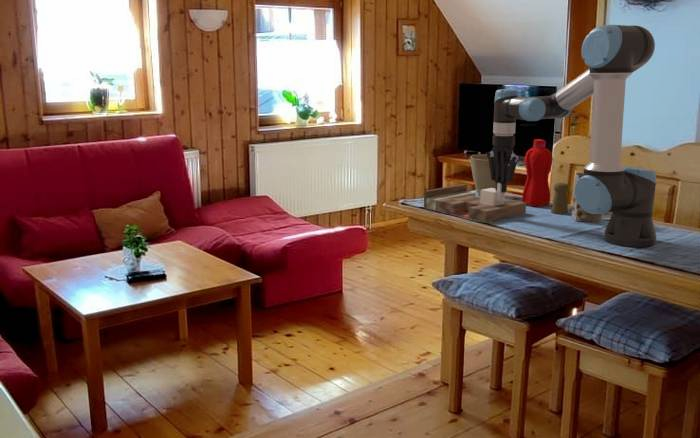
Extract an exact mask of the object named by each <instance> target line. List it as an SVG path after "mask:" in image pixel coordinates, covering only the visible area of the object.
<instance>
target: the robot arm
mask: <svg viewBox="0 0 700 438" xmlns="http://www.w3.org/2000/svg"><path fill="white" fill-rule="evenodd" d="M655 46H656V43H655V39H654V36H653V34H652V32H650V31H649V30H648V29H647V28H645V27H643V26H641V25H626V24H625V25H624V24H623V25H622V24H605V25H599V26H596V27H594V28H593V29H591V30H590V32H589V33H588V34H587V35H586V36H585V38H584V40H583V42H582V44H581V57H582V58H581V59H582V60H583V61H584V63H585V65H586V66H588V69H587V70H585V71H584V72H582V73H581V74H580V75H578V76H577V77H575V78H574V79H573V80H571V81H570V82H568V83H567V84H566V85H564V86H563V87H561V88H560V89H558V90H557V91H556V92H554V93H553V94H551V95H544V96H519V95H518V89H517V90H516V89H512V88H511V89H510V88H509V89H507V88H502V89H497V90H496V91H495V94H494V95H495V96H494V101H493V103H494V107H493V109H494V110H493V128H492V129H493V130H492V133H493V135H492V146H493V147H492V150H491V151H489V152H486V154H487V157H488V159H489V166H490V174H491V179H492V180H494V181H495V182H496V189H495V190H496V191H497V198H496V201H498V202H501V201H505V199H506V193H507V188H508V183H512V181H513V179H514V175H515V173H516V172H515V171H516V168H517V163H518V162H519V161H520V160H521V159H520V156H519V155H516V154H515V151H514V147H515V145H516V142H515V141H516V135H515V134H516V122H517V120H521V121H526V122H537V121H540V120H546V119H562V118H566V117H568V116H570V115H571V113H572V111H573V109H574V107H577V106H578V105H579V104H582V102H584V101H586V100H587V99H588V98H590V97H592V110H591V111H592V112H591V129H590V130H591V132H590V149H589V162H588V163H587V164H586V165H585V166H583V173H584V174H583V176H582V177H581V178H579V179H578V181H577V182H576V184H575V183H574V186H575V187H573V195H574V194H575V199H576V201H577V203H578V204H579V205H580V207H581V208H582V209H583V210H584V211H585V212H587V213H590V214H602V215H605V214H607V213H611V216H610V217H609V218H610V219H609V220H608V222H607V225H606V227H605V230H604V233H603V234H604V235H603V239H604V240H605V241H606V242H607V243H610V244H613V245H617V246H618V245H619V246H624V247H633V248H634V247H635V248H642V247H643V248H644V247H651V246H655V245H656V244H657V243H656V242H657V234H656V228H655V225H654V221H653V213H654V205H655V195H656V187H657V186H656V185H657V173H656V172H655V171H654V170H652V169H648V168H642V167H637V166H636V167H635V166H628V165H627V166H626V165H623V164H622V163H621V159H622V158H621V156H622V146H623V145H622V142H623V128H624V127H623V126H624V115H625V114H624V113H625V111H624V110H625V98H626V97H625V96H626V83H627V79H628V78H630V76H632V74H633V73H634V72H637V70H639V69H641V68H642V67H644V65H646V64H647V63H648V62H649V61H650V60H651V58H652V56H654V52H655V48H656V47H655Z"/></svg>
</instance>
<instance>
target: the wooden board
mask: <svg viewBox="0 0 700 438" xmlns="http://www.w3.org/2000/svg"><path fill="white" fill-rule="evenodd" d="M423 209H427V210H431V211H434V212H440V213H443V214H448V215H451V216H457V217H461V218H465V219H469V220H473V221H476V222H477V221H478V222H481V223H485V224H486V223H491V222H495V221H499V220H504V219H507V218H508V219H509V218H513V217H518V216H521V215H526V213H527V212H526V211H527V205H526V203H525V202H522V201H520V200H513V199H510V198H509V199H508V198H505V201H504V204H502V205H497V206H489V205H485V204H480V196H476V192H474V191H469V190H468V185H467V184H466V183H462V184H457V185H451V186H444V187H438V188H434V189H427V190H424V191H423Z"/></svg>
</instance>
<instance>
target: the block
mask: <svg viewBox="0 0 700 438" xmlns="http://www.w3.org/2000/svg"><path fill="white" fill-rule="evenodd" d="M479 197H480V204H485V205H489V206H497V205H502V204H504V201H501V202H498V201H496V198H497V191H496V190H495V188H488V189H482V190H481V192H480V196H479Z"/></svg>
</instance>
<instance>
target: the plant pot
mask: <svg viewBox="0 0 700 438" xmlns="http://www.w3.org/2000/svg"><path fill="white" fill-rule="evenodd" d="M469 159H470V167H471V168H470V169H471V172H472V173H471V175H472V178H473V183H474V187H475V189H476V192H477V197H480V192H481V190H482V189H488V188H495V189H496V182H495V181H494V180H492V179H491V174H490V166H489V159H488V157H487V153H485V154H472V155H471V156H469Z"/></svg>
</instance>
